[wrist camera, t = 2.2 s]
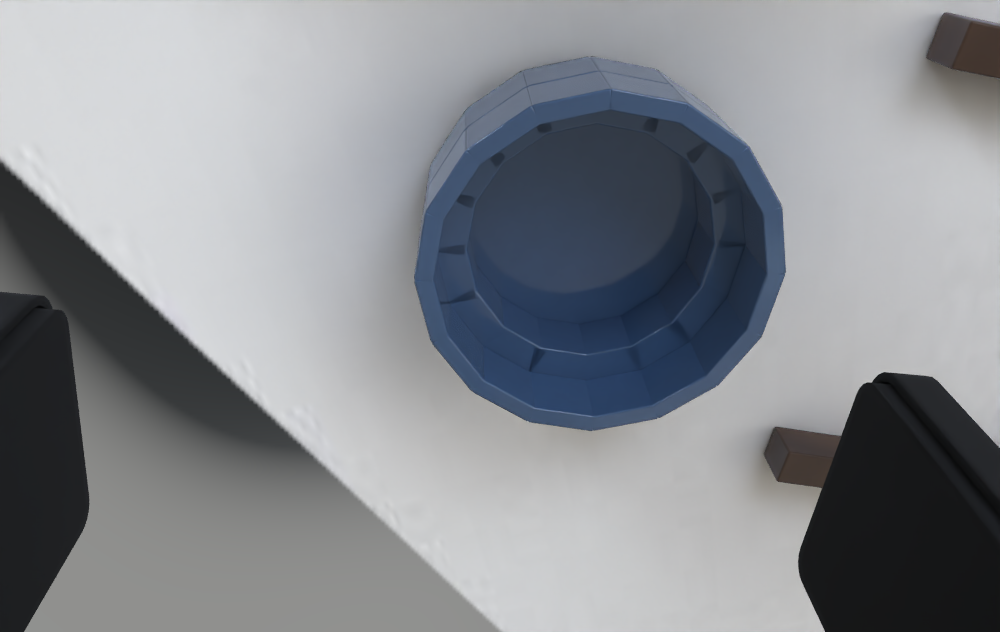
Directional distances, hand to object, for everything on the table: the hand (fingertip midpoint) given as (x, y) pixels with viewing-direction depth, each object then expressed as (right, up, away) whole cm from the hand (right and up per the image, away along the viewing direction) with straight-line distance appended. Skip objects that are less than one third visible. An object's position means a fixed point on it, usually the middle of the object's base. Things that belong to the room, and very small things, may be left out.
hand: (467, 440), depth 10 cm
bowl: (+3, +5, +21) cm, 21 cm away
